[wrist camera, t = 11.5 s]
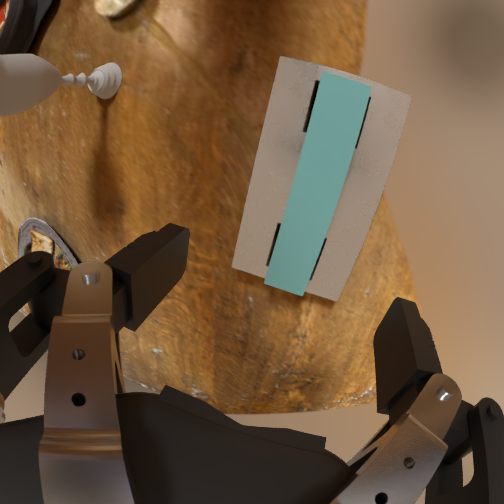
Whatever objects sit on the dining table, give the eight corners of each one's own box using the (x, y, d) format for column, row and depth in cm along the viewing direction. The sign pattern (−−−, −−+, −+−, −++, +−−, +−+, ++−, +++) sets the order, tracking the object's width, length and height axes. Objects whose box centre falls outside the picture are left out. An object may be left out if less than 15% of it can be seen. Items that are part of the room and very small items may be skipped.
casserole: (57, -41, 18) (26, -48, 10) (72, 4, 23) (32, -2, 16) (-5, 46, 28) (-33, 49, 21) (5, 101, 33) (-28, 108, 26)
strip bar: (323, 80, 23) (322, 71, 18) (364, 93, 23) (371, 86, 18) (274, 259, 33) (263, 283, 28) (307, 270, 32) (302, 296, 28)
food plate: (82, 341, 54) (73, 350, 51) (22, 272, 52) (12, 278, 49) (111, 277, 43) (98, 287, 40) (34, 191, 41) (20, 197, 38)
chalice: (131, 95, 28) (1, 106, 13) (94, 114, 30) (-23, 138, 15) (122, 46, 26) (0, 35, 10) (87, 68, 28) (-27, 75, 12)
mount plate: (285, 62, 23) (280, 56, 21) (403, 99, 22) (411, 96, 19) (239, 255, 34) (231, 267, 31) (337, 287, 32) (337, 301, 30)
